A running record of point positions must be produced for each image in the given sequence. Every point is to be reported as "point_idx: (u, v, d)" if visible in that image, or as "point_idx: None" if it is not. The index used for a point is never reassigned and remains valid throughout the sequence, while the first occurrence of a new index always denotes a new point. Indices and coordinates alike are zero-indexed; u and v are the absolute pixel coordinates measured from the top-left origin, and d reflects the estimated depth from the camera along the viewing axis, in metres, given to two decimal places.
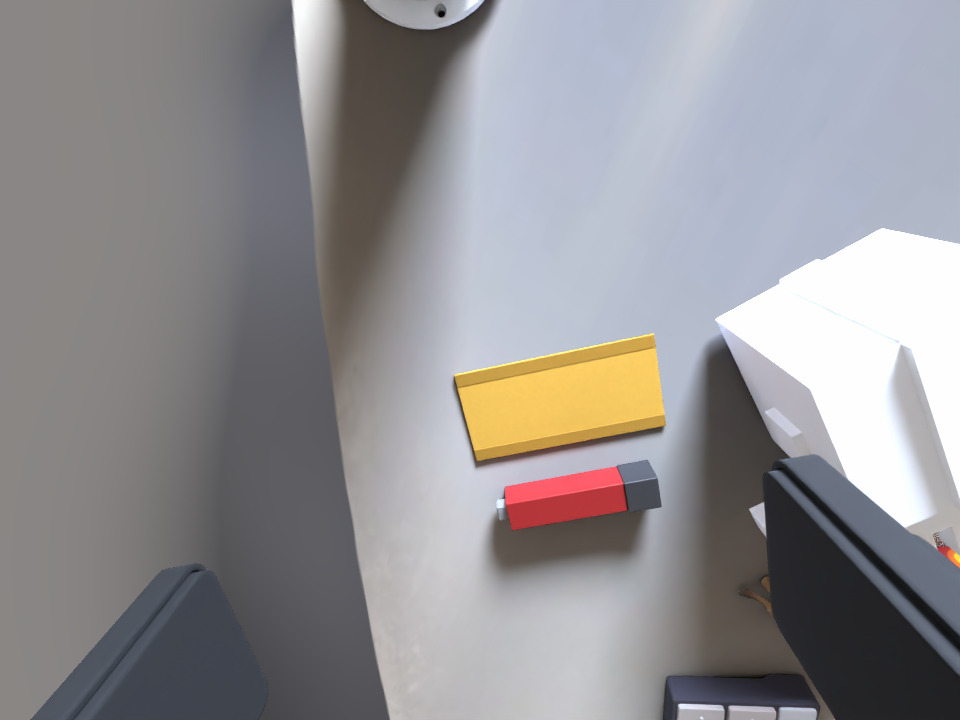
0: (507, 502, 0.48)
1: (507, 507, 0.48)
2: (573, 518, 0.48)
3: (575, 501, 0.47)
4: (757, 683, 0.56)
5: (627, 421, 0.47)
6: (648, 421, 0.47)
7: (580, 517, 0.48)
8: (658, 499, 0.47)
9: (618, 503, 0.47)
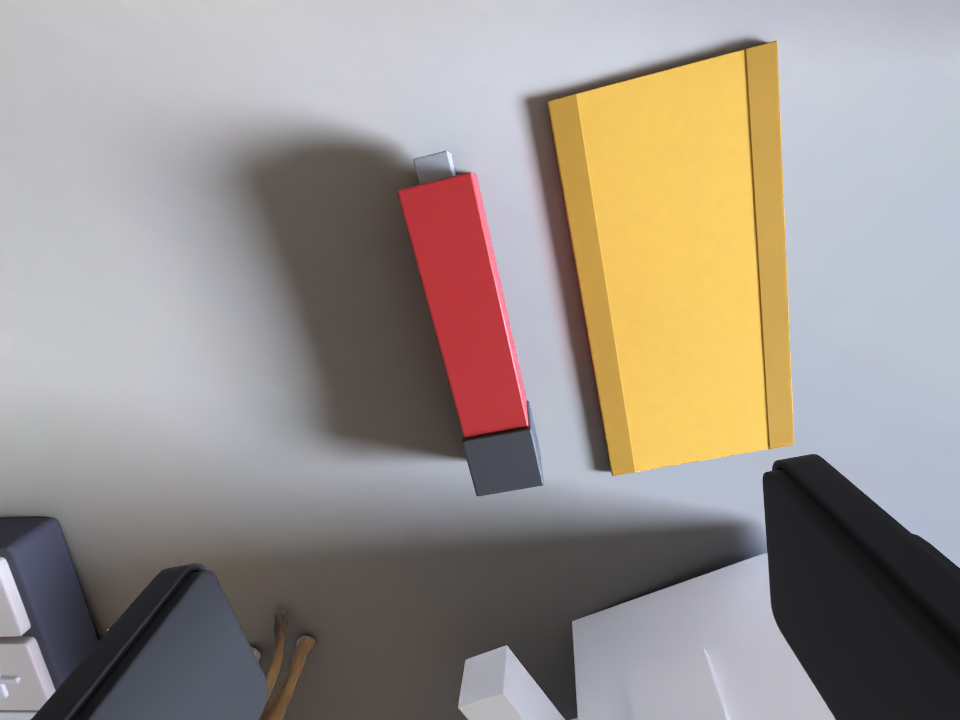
0: (472, 177, 0.20)
1: (462, 177, 0.20)
2: (439, 333, 0.22)
3: (484, 336, 0.22)
4: None
5: (626, 413, 0.25)
6: (622, 447, 0.26)
7: (443, 347, 0.22)
8: (494, 490, 0.24)
9: (480, 420, 0.23)
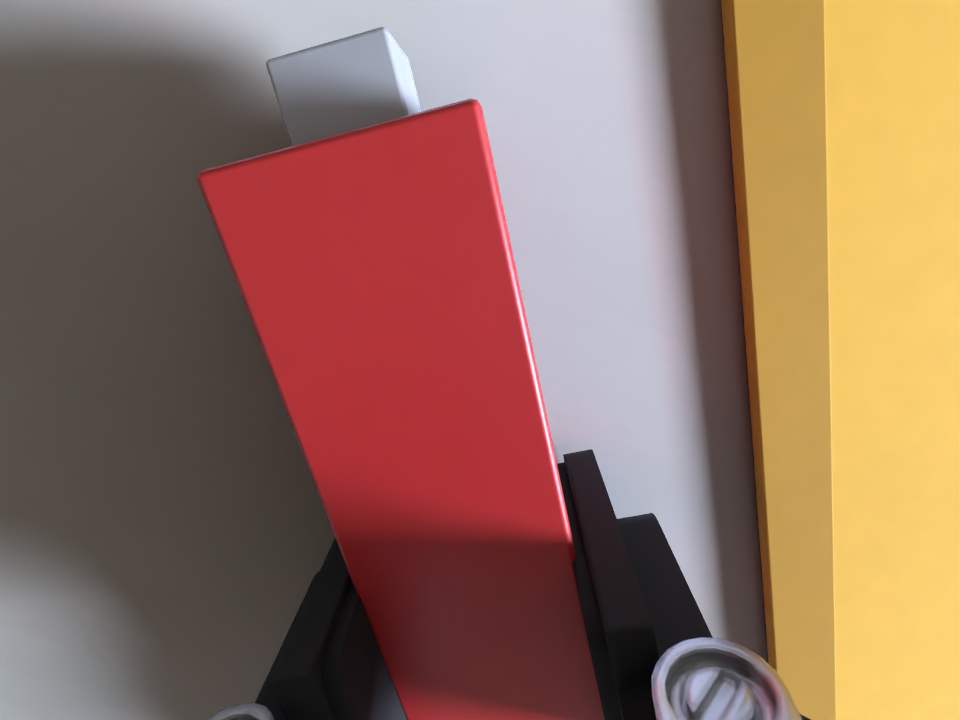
0: None
1: (444, 120, 0.05)
2: (377, 617, 0.07)
3: (516, 628, 0.07)
4: None
5: (834, 706, 0.11)
6: None
7: (389, 653, 0.07)
8: None
9: None
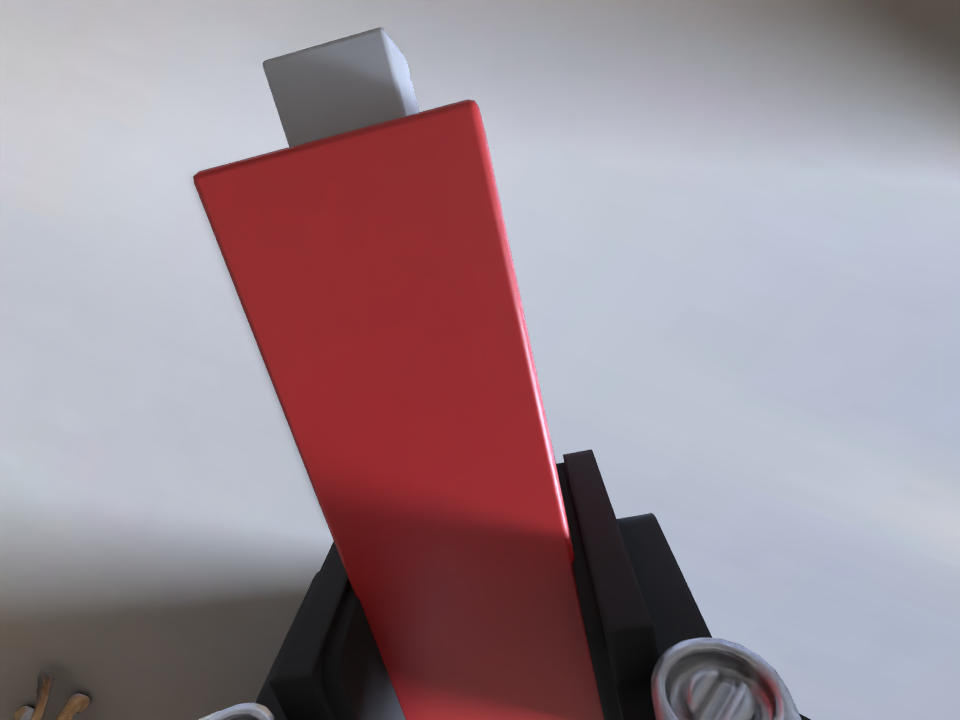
0: None
1: (442, 121, 0.05)
2: (376, 620, 0.07)
3: (516, 630, 0.07)
4: None
5: None
6: None
7: (388, 656, 0.07)
8: None
9: None
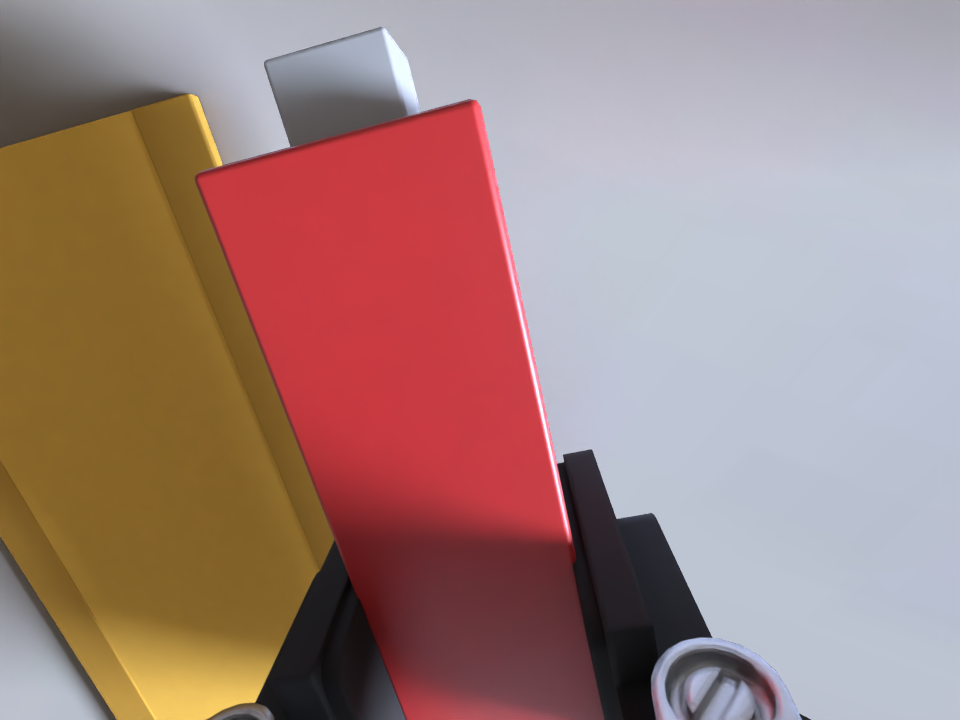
0: None
1: (444, 121, 0.05)
2: (377, 620, 0.07)
3: (517, 631, 0.07)
4: None
5: (147, 708, 0.15)
6: None
7: (389, 656, 0.07)
8: None
9: None
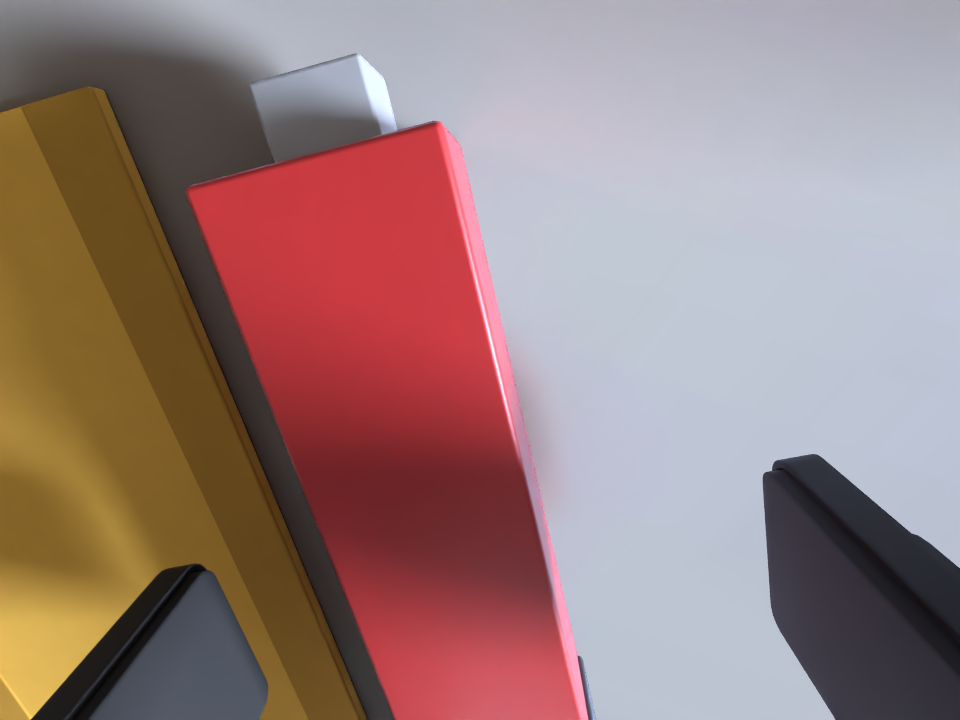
0: None
1: (411, 140, 0.05)
2: (357, 601, 0.07)
3: (488, 609, 0.07)
4: None
5: None
6: None
7: (369, 635, 0.08)
8: None
9: None
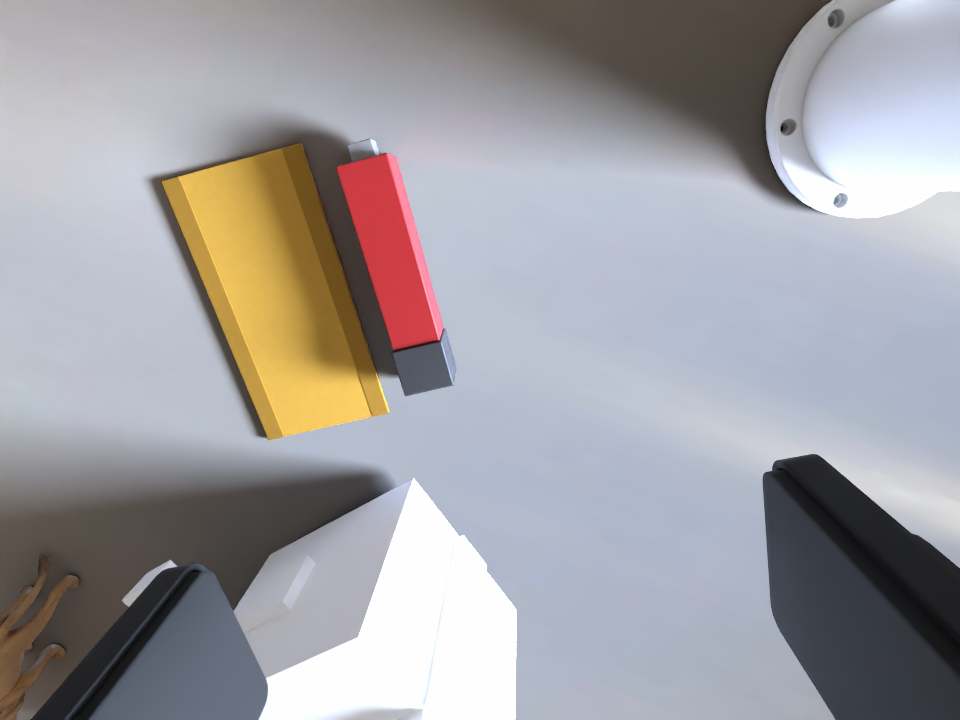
0: (388, 157, 0.28)
1: (381, 156, 0.28)
2: (370, 270, 0.30)
3: (403, 272, 0.30)
4: None
5: (266, 393, 0.35)
6: (270, 418, 0.36)
7: (373, 281, 0.30)
8: (417, 390, 0.32)
9: (404, 336, 0.31)
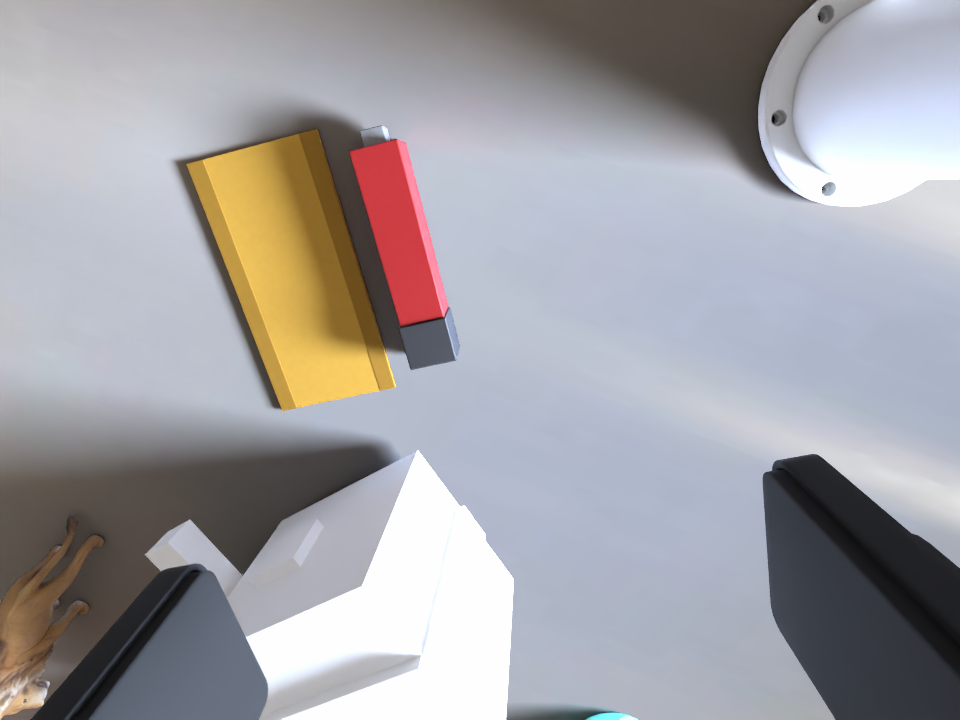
0: (398, 142, 0.30)
1: (391, 142, 0.30)
2: (380, 249, 0.32)
3: (410, 251, 0.32)
4: None
5: (280, 367, 0.38)
6: (284, 390, 0.38)
7: (383, 260, 0.32)
8: (422, 365, 0.34)
9: (411, 312, 0.33)
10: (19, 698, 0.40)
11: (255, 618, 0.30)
